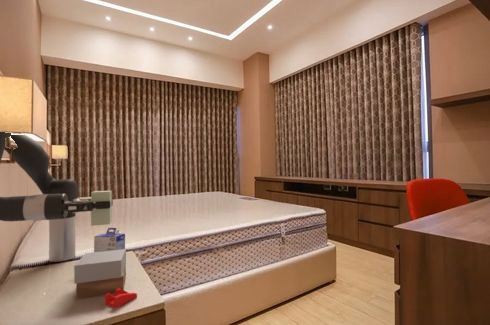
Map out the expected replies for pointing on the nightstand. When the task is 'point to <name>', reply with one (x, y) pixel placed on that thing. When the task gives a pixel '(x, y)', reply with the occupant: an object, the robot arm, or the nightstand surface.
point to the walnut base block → (99, 287)
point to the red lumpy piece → (119, 298)
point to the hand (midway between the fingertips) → (111, 203)
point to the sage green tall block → (101, 214)
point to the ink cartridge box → (109, 241)
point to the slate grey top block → (100, 266)
